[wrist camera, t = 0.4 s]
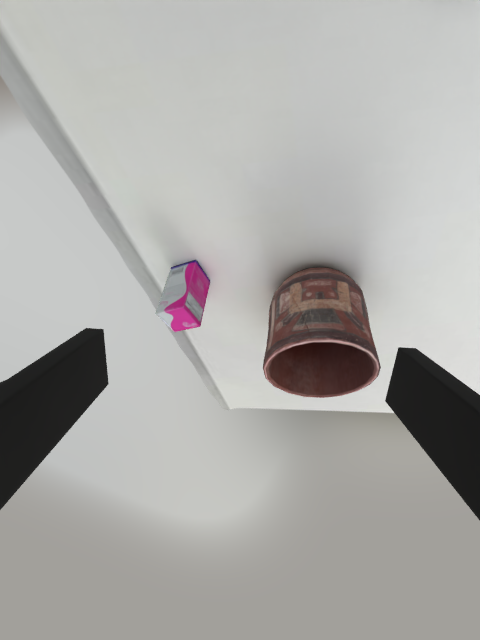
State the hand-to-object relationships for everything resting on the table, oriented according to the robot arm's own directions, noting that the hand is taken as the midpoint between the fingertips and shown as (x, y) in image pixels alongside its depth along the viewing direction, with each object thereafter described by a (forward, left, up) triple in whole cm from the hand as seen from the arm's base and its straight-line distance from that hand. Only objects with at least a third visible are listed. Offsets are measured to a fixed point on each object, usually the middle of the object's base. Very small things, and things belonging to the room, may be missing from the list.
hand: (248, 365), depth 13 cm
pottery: (+30, +1, -35) cm, 46 cm away
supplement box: (+21, -21, -35) cm, 46 cm away
